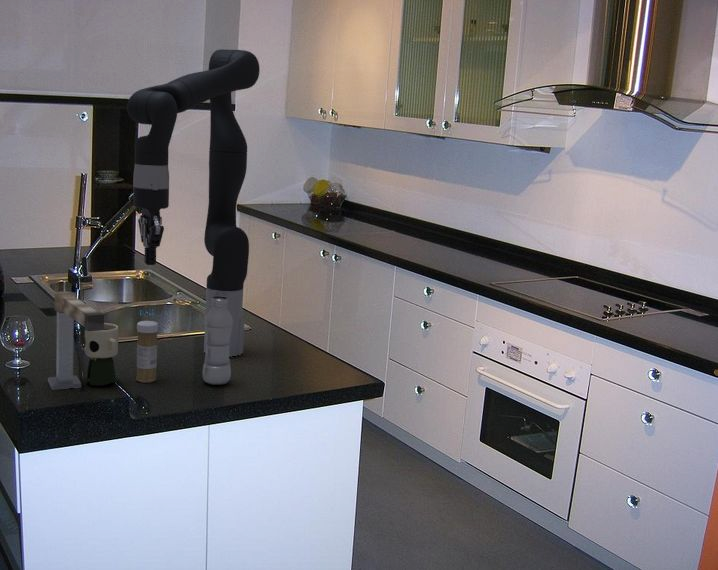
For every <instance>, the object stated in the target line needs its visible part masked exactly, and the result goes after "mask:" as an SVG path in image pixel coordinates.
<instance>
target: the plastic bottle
mask: <svg viewBox="0 0 718 570" xmlns="http://www.w3.org/2000/svg"><path fill="white" fill-rule="evenodd" d="M211 306H212V308H211V310H210V311H209V312H208V314H207V315H206V317H205V316H204V333H205V332H206V354H204V362H203V366H202V379H203V381H204V382H205V383H206V384H209V385H212V386H214V385H218V386H221V385H225V384H227V383H228V382H229V381H230V379H231V375H232V369H231V361H230V359H231V358H229V346H230V345H229V344H230V336H231V331H232V325H233V319H232V316H231V314H230V312H229V311H228V310H227V306H228V298H227V297H224V296H213V297H212V303H211Z"/></svg>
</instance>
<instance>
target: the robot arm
mask: <svg viewBox="0 0 718 570" xmlns="http://www.w3.org/2000/svg"><path fill="white" fill-rule="evenodd" d="M259 63H260V62H259V60H258V58H257V56H256V55H255V54H254V53H253V52H251V51H249V50H246V49H245V50H243V49H224V48H223V49H216V50H215V51H214V52H213V53H212V54H211V56H210V59H209V62H208V69H207V70H203V71H202V70H201V71H197V72H193V73H188V74H185V75H182V76H180V77H178V78H175V79H173V80H171V81H169V82H167V83H163V84H159V85H153V86H149V87H145V88H142V89H139V90H137V91H135V92H134V93H132V95H130V97H129V99H128V100H127V105H126V111H127V114H128V116H129V117H130V119H131V120H132V121H133V122H135V123H137V124H140V125H151V126H150V130H149V133H148V134H146V135H142V136H139V137H138V138H136V140H135V144H134V169H133V179H132V182H133V191H132V192H133V196H132V198H133V199H132V205H133V207H134V208H136V209H137V208H138V209H141V214H140V215H139V218H138V220H137V222H138V228H139V233H140V240H141V243H142V246H143V247H144V264H145V265H146V266H155V265H156V264H157V249H158V247H160V246H161V242H162V238H163V234H164V231H165V226H164V225H162V224H163V218H162V216H161V210H165V209H167V208H169V205H170V169H169V146H170V143H171V140H172V135H173V132H174V129H175V126H176V122H177V119H178V114H180V113H181V114H182V113H184V112H186V111H188V110H191V109H192V108H194V107H196V106H198V105H201V104H202V103H205V102H207V101H209V105H210V106H209V108H210V109H209V110H210V112H209V113H210V119H209V121H210V127H209V128H210V130H209V131H210V136H209V137H210V138H209V149H208V150H209V151H208V152H209V155H208V206H207V207H208V208H207V214H206V215H207V216H206V221H205V229H204V236H203V237H204V246H205V247H204V248H205V249H206V251H207V252H208V254H209V255H210V256H211V257H213V258H212V267H211V272H210V274H209V275H207V278H206V286H205V287H206V290H205V310H204V312H205V313H204V314H205V315H204V318H205V317H206V315H207V314H208V312H209V311H210V310H211V308H212V306H211V303H212V297H213V296H224V297H227V298H228V306H227V310H228V311H229V312H230V314H231V316H232V319H233V325H232V331H231V336H230V344H229V345H230V346H229V356H235V355H238V354H242V353H243V354H244V344H245V343H244V341H245V318H244V317H243V307H244V306H243V302H244V301H243V300H244V284H245V281H246V278H247V275H248V267H249V257H250V256H249V255H250V243H249V242H250V241H249V237H248V235H247V233H246V232H245V231H244V230H243V229H242V228H240V227H238V226H237V205H238V204H237V202H238V199H239V195H240V193H241V189H242V186H243V184H244V182H245V178H246V174H247V166H248V163H247V162H248V143H247V140H246V137H245V134H244V133H243V130H242V128H241V126H240V124H239V122H238V121H237V118H236V117H235V112H234V109H233V105H232V104H233V102H232V92H236V91H241V90H242V91H243V90H246V89H250V88H252V87H253V86H254V85H255V84H256V83H257V81H258V79H259V76H260V64H259ZM203 337H204V338H203V339H204V342H203V353H204V352H205V353H206V332H205V331H204V336H203Z"/></svg>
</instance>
